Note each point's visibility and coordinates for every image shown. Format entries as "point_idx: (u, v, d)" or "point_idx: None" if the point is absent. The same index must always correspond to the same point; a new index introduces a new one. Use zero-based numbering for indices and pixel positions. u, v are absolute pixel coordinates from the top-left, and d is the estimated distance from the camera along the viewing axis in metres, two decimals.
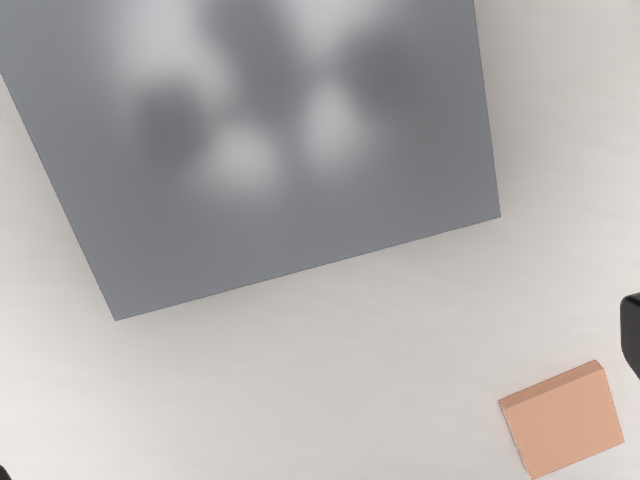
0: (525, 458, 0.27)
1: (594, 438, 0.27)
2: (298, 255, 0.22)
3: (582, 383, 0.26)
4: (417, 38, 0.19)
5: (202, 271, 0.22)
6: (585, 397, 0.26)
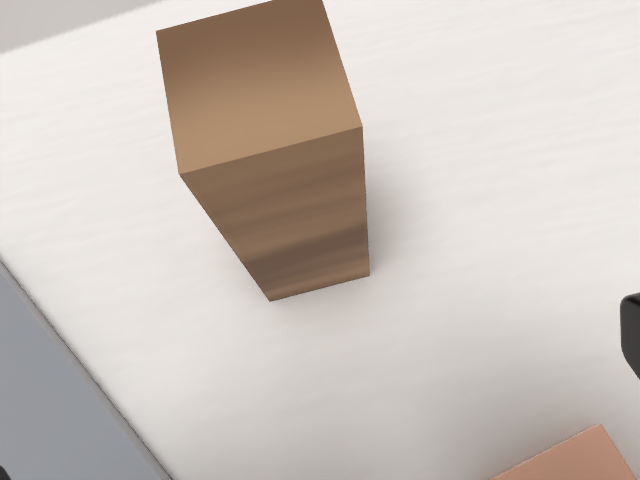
0: None
1: None
2: None
3: None
4: (44, 429, 0.20)
5: None
6: None
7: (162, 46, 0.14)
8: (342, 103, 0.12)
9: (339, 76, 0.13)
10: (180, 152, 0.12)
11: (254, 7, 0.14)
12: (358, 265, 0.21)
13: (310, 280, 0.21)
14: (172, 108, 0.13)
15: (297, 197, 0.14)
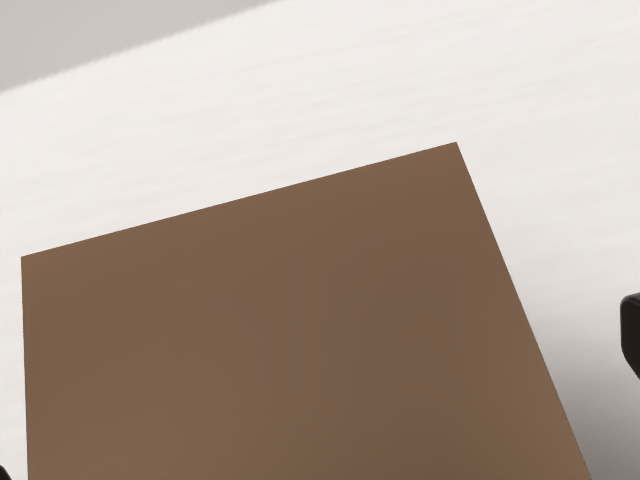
0: None
1: None
2: None
3: None
4: None
5: None
6: None
7: (34, 307, 0.05)
8: None
9: (560, 454, 0.04)
10: None
11: (286, 192, 0.05)
12: None
13: None
14: None
15: None
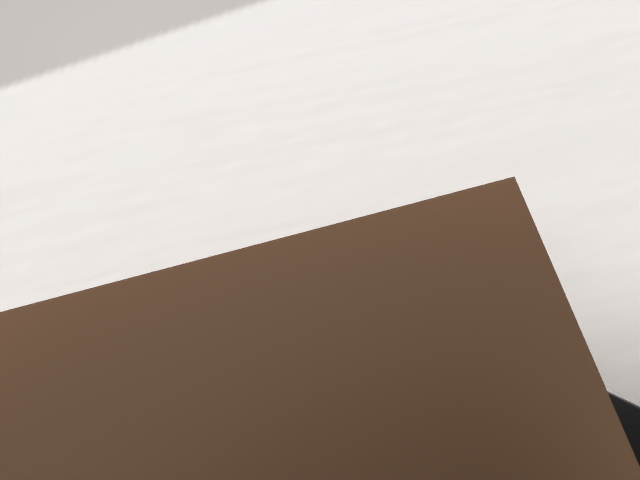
0: None
1: None
2: None
3: None
4: None
5: None
6: None
7: None
8: None
9: None
10: None
11: (293, 244, 0.04)
12: None
13: None
14: None
15: None
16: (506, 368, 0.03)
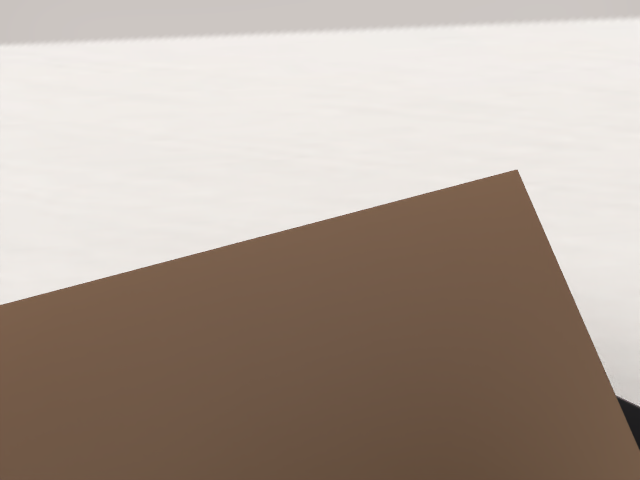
0: None
1: None
2: None
3: None
4: None
5: None
6: None
7: None
8: None
9: None
10: None
11: (297, 234, 0.04)
12: None
13: None
14: None
15: None
16: (509, 359, 0.03)
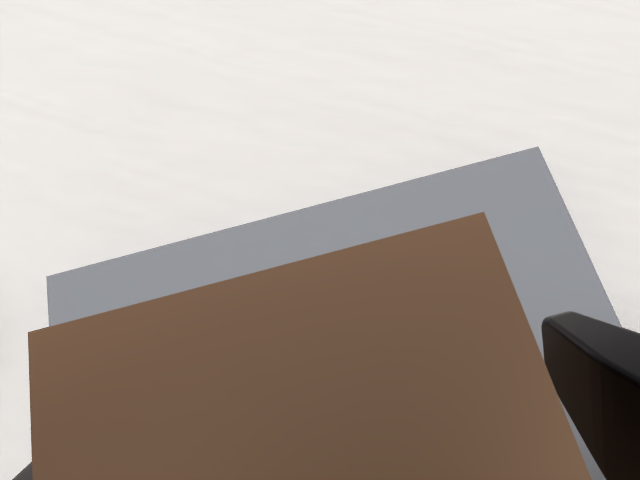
0: None
1: None
2: None
3: None
4: None
5: None
6: None
7: (42, 388, 0.05)
8: None
9: None
10: None
11: (306, 265, 0.05)
12: None
13: None
14: None
15: None
16: (474, 365, 0.04)
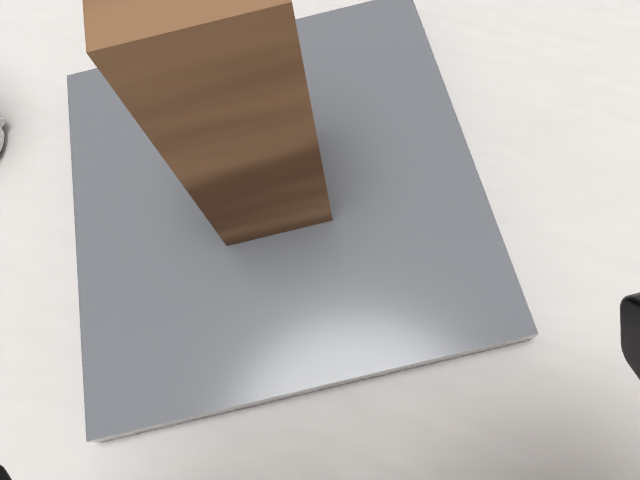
0: None
1: None
2: (301, 369, 0.19)
3: None
4: (417, 163, 0.22)
5: (194, 383, 0.19)
6: None
7: None
8: None
9: None
10: (89, 30, 0.11)
11: None
12: (318, 205, 0.20)
13: (267, 221, 0.20)
14: None
15: (232, 101, 0.13)
16: None
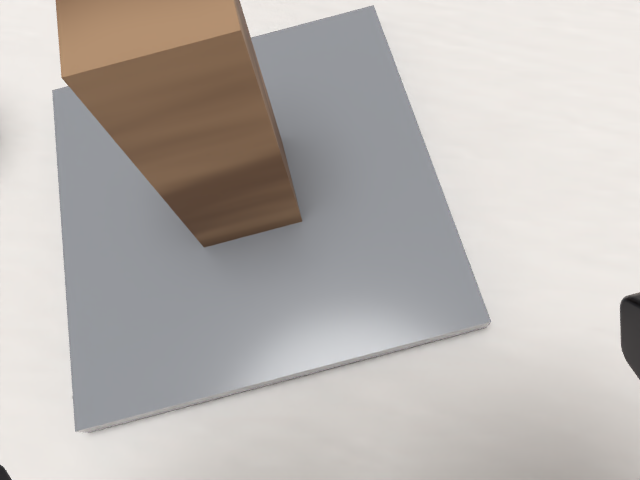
0: None
1: None
2: (274, 360, 0.21)
3: None
4: (380, 166, 0.23)
5: (175, 375, 0.21)
6: None
7: None
8: (223, 10, 0.13)
9: None
10: (64, 57, 0.13)
11: None
12: (286, 207, 0.21)
13: (240, 223, 0.21)
14: (61, 18, 0.13)
15: (196, 116, 0.15)
16: None
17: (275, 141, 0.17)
